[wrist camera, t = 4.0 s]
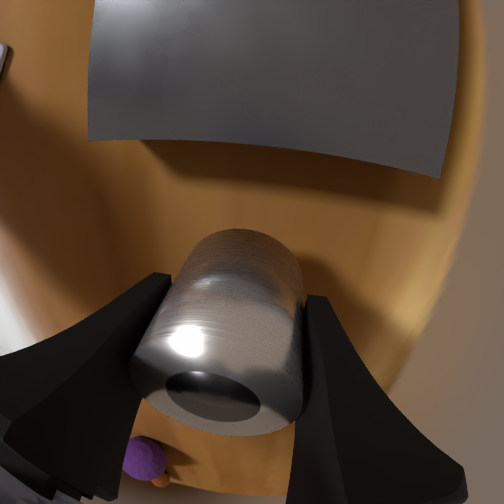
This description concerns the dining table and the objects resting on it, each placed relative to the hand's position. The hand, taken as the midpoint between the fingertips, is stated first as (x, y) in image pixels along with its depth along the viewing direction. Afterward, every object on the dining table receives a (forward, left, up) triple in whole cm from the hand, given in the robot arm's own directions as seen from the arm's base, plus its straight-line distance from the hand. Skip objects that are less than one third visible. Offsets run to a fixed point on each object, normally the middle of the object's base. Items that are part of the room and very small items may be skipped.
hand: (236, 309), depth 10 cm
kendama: (-38, -6, -5) cm, 38 cm away
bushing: (0, 0, -2) cm, 2 cm away
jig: (+14, +6, -5) cm, 16 cm away
